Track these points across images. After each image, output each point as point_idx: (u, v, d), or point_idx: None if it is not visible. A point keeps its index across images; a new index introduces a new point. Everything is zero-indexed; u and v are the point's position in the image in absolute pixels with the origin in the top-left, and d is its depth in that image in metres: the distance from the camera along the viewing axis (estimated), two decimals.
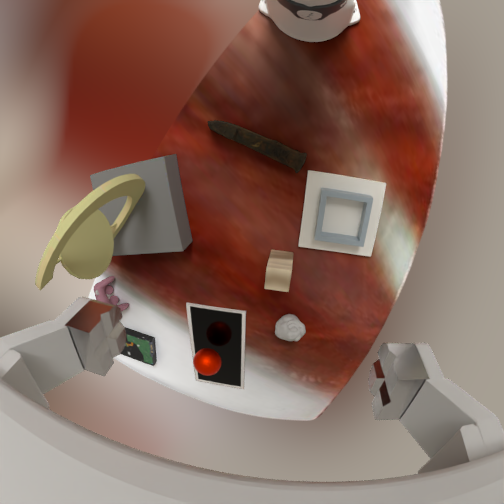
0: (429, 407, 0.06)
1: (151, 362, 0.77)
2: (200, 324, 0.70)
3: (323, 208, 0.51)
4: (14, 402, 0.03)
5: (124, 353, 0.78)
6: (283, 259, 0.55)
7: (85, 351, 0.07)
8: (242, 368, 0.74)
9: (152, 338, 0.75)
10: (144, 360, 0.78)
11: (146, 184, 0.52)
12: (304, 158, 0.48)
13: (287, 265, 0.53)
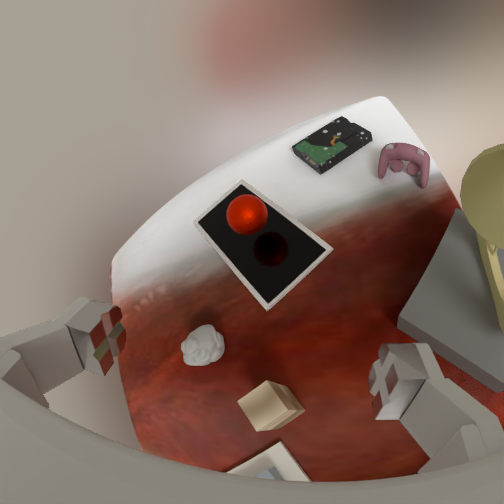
0: (428, 408, 0.06)
1: (297, 147, 0.59)
2: (296, 242, 0.49)
3: None
4: (14, 402, 0.03)
5: (328, 126, 0.59)
6: (279, 422, 0.31)
7: (84, 351, 0.07)
8: (212, 243, 0.57)
9: (321, 171, 0.55)
10: (305, 141, 0.59)
11: None
12: None
13: (268, 427, 0.30)
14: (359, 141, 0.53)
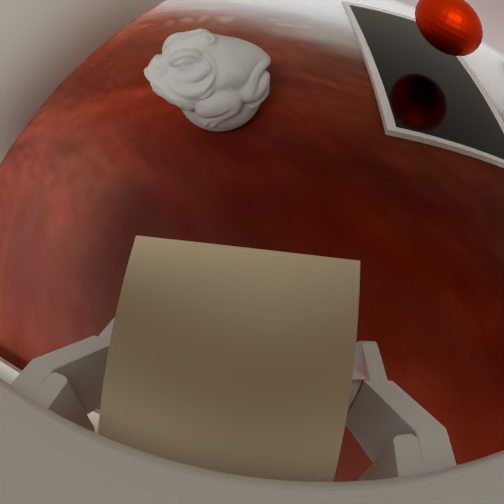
0: (368, 411, 0.06)
1: None
2: (481, 115, 0.17)
3: None
4: (14, 402, 0.03)
5: None
6: None
7: None
8: (355, 23, 0.23)
9: None
10: None
11: None
12: None
13: None
14: None
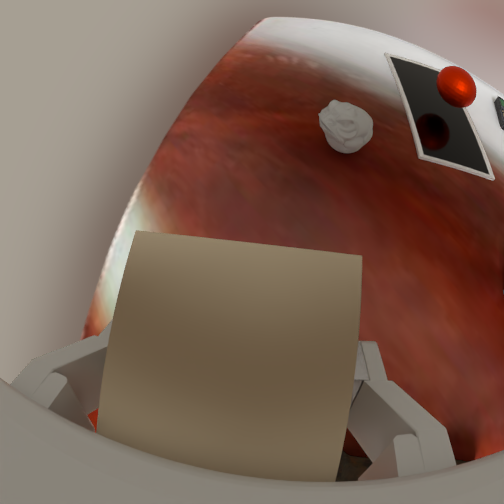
0: (368, 411, 0.06)
1: (501, 100, 0.36)
2: (470, 145, 0.33)
3: None
4: (14, 402, 0.03)
5: None
6: None
7: None
8: (396, 76, 0.38)
9: (503, 127, 0.35)
10: None
11: None
12: None
13: None
14: None
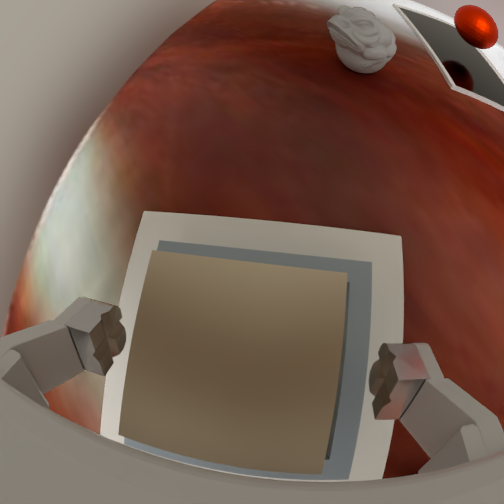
0: (428, 408, 0.06)
1: None
2: (499, 88, 0.22)
3: (345, 407, 0.10)
4: (14, 402, 0.03)
5: None
6: None
7: (85, 351, 0.07)
8: (409, 21, 0.28)
9: None
10: None
11: None
12: None
13: None
14: None
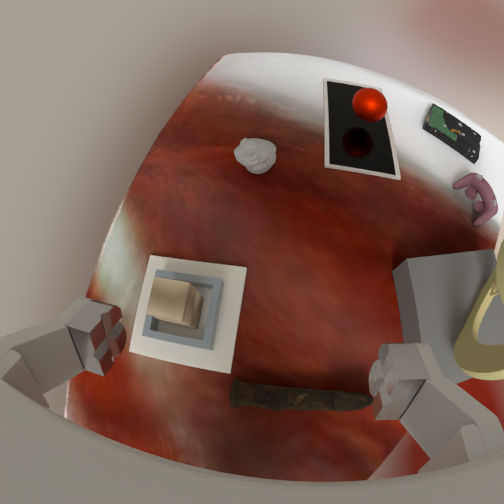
0: (428, 407, 0.06)
1: (434, 106, 0.52)
2: (381, 152, 0.49)
3: (208, 323, 0.36)
4: (14, 402, 0.03)
5: (466, 126, 0.50)
6: (169, 321, 0.35)
7: (84, 351, 0.07)
8: (326, 100, 0.55)
9: (424, 127, 0.51)
10: (442, 111, 0.52)
11: (451, 353, 0.30)
12: (231, 402, 0.33)
13: (157, 317, 0.33)
14: (465, 150, 0.47)
